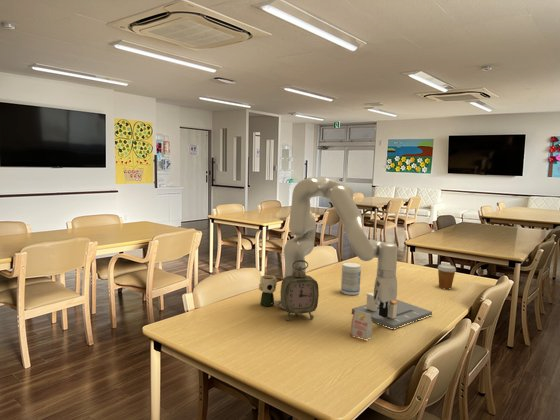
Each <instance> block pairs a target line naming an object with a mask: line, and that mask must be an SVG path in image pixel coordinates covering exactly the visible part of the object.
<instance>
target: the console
mask: <svg viewBox="0 0 560 420" xmlns="http://www.w3.org/2000/svg"><path fill="white" fill-rule="evenodd" d="M394 301H397V302H398V304H397V313H396V318H393V319H392V318H389V317H385V318H384V317H382V316H379V305H377V310H376V311H372V310H369V309H366V305H367V304H363V305H361V306H357V307H353V308H351V314H353V315H354V310H358V311H362V312H365V313H369V314H371V319H372V321H373V322H372V323H375V322H376V323H375V324H377V323H379V324H381V325H380V326H382V325H384V326H387V327H390V328H393V329H394V328H397V327H399V326H402V325H404V324H407V323H410V322H413V321H416V320H418V319H421V318H424V317H426V316H429V315H432V316H433V311H432V310H431V311H430V310H428V309H425V308H422V307H419V306H417V305H413V304H411V303H408V302H404V301H402V300H401V299H400V300H399V299H397V298H396V299H395V300H394ZM379 324H378V325H379ZM384 326H383V327H384ZM387 327H386V328H387Z"/></svg>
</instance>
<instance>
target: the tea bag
mask: <svg viewBox="0 0 560 420" xmlns="http://www.w3.org/2000/svg"><path fill="white" fill-rule="evenodd" d="M372 330H373V322H372V319H371V314H369V313H365V312H362V311H358V310H354V314H353V316H352V319H351V328H350V336H351V335H352V336H351V337H353V336H355V337H354V338H356V337H360V338H363V339H368V338H370V337H371V338H372V335H373V333H372V332H373V331H372Z"/></svg>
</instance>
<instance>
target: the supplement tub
mask: <svg viewBox="0 0 560 420" xmlns="http://www.w3.org/2000/svg"><path fill="white" fill-rule="evenodd" d="M361 269H362V268H361V264H359V263H355V262H344V263H342V266H341V282H340V291H341V293H342V294H344V295H346V296H347V295H348V296H355V295H359V294H360V290H361V289H360V288H361V274H362V272H361V271H362V270H361Z"/></svg>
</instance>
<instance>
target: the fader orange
mask: <svg viewBox="0 0 560 420" xmlns="http://www.w3.org/2000/svg"><path fill="white" fill-rule="evenodd" d="M397 304H398V302H397V301H394V300H393V301H391V302H390V305H389V307H388V316H387V317H389V318H392V319H393V318H396V313H397Z"/></svg>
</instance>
